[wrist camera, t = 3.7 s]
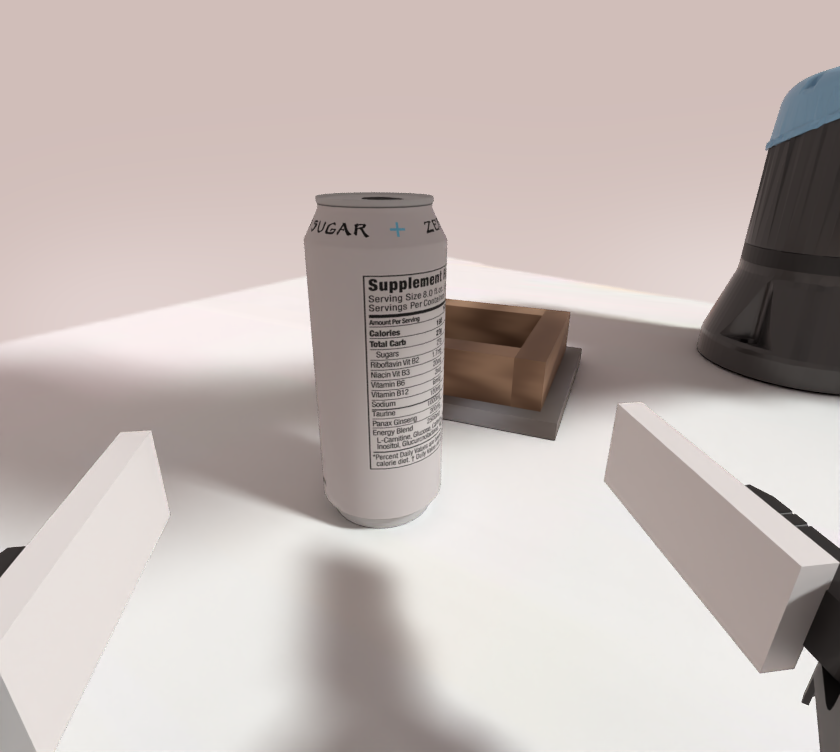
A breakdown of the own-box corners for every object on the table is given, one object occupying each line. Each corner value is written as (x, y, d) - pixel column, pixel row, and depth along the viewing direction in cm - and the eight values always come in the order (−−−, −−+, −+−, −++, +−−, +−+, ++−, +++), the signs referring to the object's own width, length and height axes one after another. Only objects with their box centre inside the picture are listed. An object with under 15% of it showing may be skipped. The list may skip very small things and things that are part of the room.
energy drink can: (392, 454, 31) (388, 190, 25) (464, 500, 26) (479, 196, 20) (303, 493, 27) (273, 194, 21) (370, 555, 23) (355, 203, 17)
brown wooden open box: (580, 361, 45) (587, 309, 43) (555, 440, 32) (563, 372, 30) (423, 339, 50) (424, 292, 48) (348, 400, 37) (345, 340, 35)
